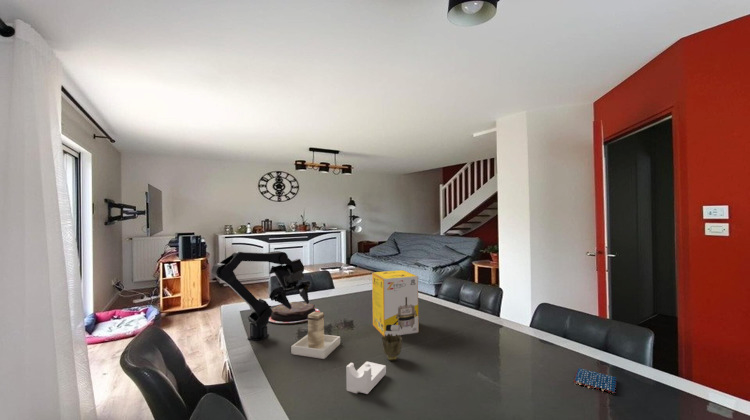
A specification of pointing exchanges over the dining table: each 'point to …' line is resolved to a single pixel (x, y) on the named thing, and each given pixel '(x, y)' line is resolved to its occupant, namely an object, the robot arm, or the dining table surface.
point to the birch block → (316, 330)
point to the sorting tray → (322, 353)
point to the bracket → (364, 377)
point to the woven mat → (595, 380)
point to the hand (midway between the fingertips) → (299, 305)
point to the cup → (392, 346)
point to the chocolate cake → (292, 313)
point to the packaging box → (395, 302)
